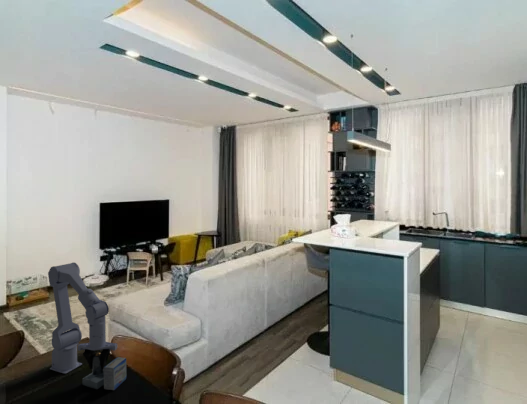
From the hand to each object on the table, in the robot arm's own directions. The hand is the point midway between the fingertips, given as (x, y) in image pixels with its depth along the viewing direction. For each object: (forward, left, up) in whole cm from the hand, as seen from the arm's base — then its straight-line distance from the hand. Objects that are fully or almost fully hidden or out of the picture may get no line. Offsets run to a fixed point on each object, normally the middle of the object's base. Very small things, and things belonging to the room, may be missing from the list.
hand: (97, 367), depth 127 cm
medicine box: (+7, +2, -6) cm, 10 cm away
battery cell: (0, 0, -2) cm, 2 cm away
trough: (0, 0, -6) cm, 6 cm away
